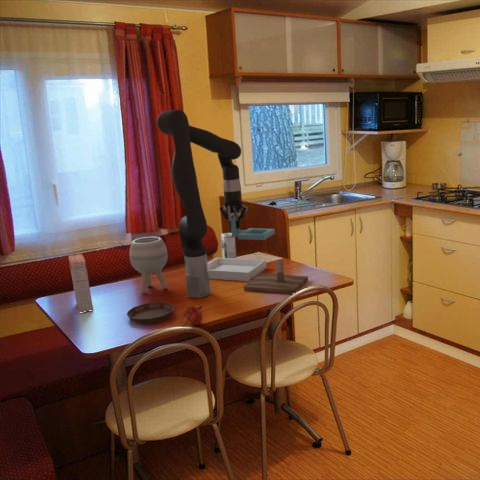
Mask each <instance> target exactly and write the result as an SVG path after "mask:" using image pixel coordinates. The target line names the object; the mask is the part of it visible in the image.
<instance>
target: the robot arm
mask: <svg viewBox="0 0 480 480" xmlns="http://www.w3.org/2000/svg"><path fill="white" fill-rule="evenodd" d="M156 118H157V120H156V124H157V129H158V130H159V131H160V132H161V133H162V134H164V135H167V136H171V137H172V138H173V145H174V153H173V158H172V163H171V176H172V182H173V186H174V189H175V191H176V193H177V195H178V198H179V199H180V201H181V203H182V205H183V207H184V211H185V212H184V213H185V215H184V216H183V217H182V218H181V220H180V221H179V225H178V227H179V229H178V231H179V240H180V245H181V249H182V251H183V257H184V265H185V266H184V267H185V282H186V293H187V298H196V299H202V298H204V297H207V296H210V294H211V285H210V279H209V273H208V263H209V262H208V254H207V253H208V251H207V246H205V244H204V243H203V241H202V239H204V238H205V237H206V235H207V233H208V224H207V220H206V216H205V213H204V212H205V211H204V209H203V205H202V201H201V195H200V191H199V184H198V180H197V173H196V169H195V168H196V167H195V163H194V158H193V150H192V144H194V145H196V146H199V147H201V148H203V149H205V150H206V151H209V152H211V153H214V154H217V158H218V161H219V164H220V167H221V170H222V180H223V181H222V182H223V183H222V185H223V186H222V187H223V188H222V189H223V197H224V204H223V205H222V206H220V207H219V208H218V209H219V211H220V212H221V214H222V216H223V217H224V219H225V220H228V221H229V228H230V229H231V218H233V217H235V218H236V229H239V228H241V226H242V225H241V220H242V219H245V217H246V214H247V212H248V210H249V206H246V205H244V204H243V202H242V201H243V200H242V199H243V198H242V186H241V185H242V184H241V178H240V169H239V166H238V165H236V164H234V162H233V160H237V159H238V158H240V157H241V155H242V148H241V147H240V145H239V143H237V142H235V141H233V140H229V139H227V138H224V137H220V136H219V135H217V134H215V133H213V132H211V131H209V130H206V129H203V128H201V127H200V128H198V127H196V126H192V125H190V123H189V119H188V116H187V114H186V113H185V112H184V111H183V110H182V109H172V110H166V111H163V112H161V113H160V114H158V117H156ZM191 143H192V144H191Z"/></svg>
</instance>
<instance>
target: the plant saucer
mask: <svg viewBox="0 0 480 480" xmlns="http://www.w3.org/2000/svg"><path fill="white" fill-rule="evenodd" d="M174 310H175V306H174V305H173V304H171V303H170V302H162V301H158V302H157V301H155V302H148V303H147V302H146V303H143V304H140V305H137V306H134V307H132V308H131V309H129V310H128V311H127V313H126V316H127V317H128V319H130V320H131V321H132V322H133V323H135V322H136V324H139V323H141V324H142V325H149V324H155V323H158V322H162V321H165V320H166V319H168V318H169V317H170V316H171V314H172V313H173V311H174Z"/></svg>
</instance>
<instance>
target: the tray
mask: <svg viewBox="0 0 480 480" xmlns="http://www.w3.org/2000/svg"><path fill="white" fill-rule="evenodd" d="M266 269H267V260H266V259H250V258H236V259H234V258H223V257H215V258H213V259H212V260H210V261H209V262H208V273H209V280H210V279H211V280H221V279H222V280H224V281H236V280H237V281H238V282H250V281H251V280H253V279H254V278H255V277H257V276H258V275H259V274H260V273H262V272H264V271H265V270H266Z"/></svg>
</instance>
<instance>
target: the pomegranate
mask: <svg viewBox="0 0 480 480" xmlns="http://www.w3.org/2000/svg"><path fill="white" fill-rule="evenodd" d="M203 308H204V306H203V305H200V306H199V307H197V306H195V305H192V306H191V305H189V306H187V307H186V308H185V310H184V311H183V313H182V316H183V317H185V319H187V321H185V323H184V324H183V325H182V327H185V325H186V324H188V322H189V323H191V324H192V325H193V326H194V327H195V326H199V325H200V324H202V323H201V322H202V321H203V318H204V314H203V312H202V310H201V309H203Z"/></svg>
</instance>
